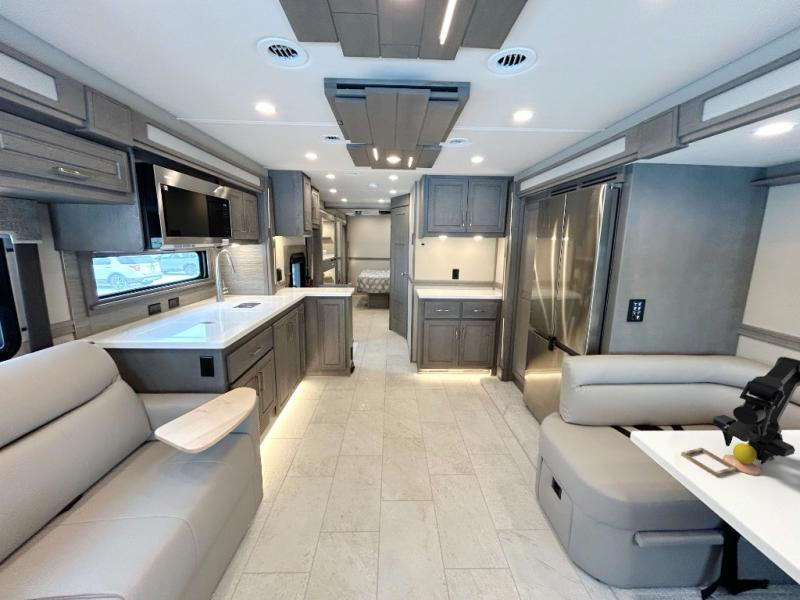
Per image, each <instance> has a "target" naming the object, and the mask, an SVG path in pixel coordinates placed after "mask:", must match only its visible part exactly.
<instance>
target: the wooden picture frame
mask: <svg viewBox="0 0 800 600" xmlns="http://www.w3.org/2000/svg"><path fill="white" fill-rule="evenodd" d="M700 453H703V454H704V455H707V456H709V457H710V458H712V459H713V460H715V461H717V462H718V463H720V464H722V465H724V466H725V467H727V468H724V469H721V470H717V471H716V470H714V469H712V468H711V467H708V466H707V465H705V464H704V463H702V462H700V461H699V460H697V459H695V458H694V457H692V456H691V455H696V454H700ZM680 456H681V457H683V458H685V459H687V460H688V461H690V462H691V463H692V464H694V465H696V466H697V467H699V468H700V469H703V470H704V471H706V472H707V473H709V474H710V473H711V474H710V475H712V476H714V477H715V478H717V477H720V476H721V477H722V476H723V475H724V476H725V475H727V474H731V473H735V472H738V471H737V467H735V466H733V465H732V464H730V463H728V462H726V461H725V460H723V458H721V457H720V456H717V455H715V454H714V453H712V452H711V451H709V450H707V449H705V448H704V447H697V448H694V449H690V450H685V451H682V452H681V454H680Z"/></svg>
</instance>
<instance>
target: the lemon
mask: <svg viewBox="0 0 800 600" xmlns="http://www.w3.org/2000/svg"><path fill="white" fill-rule="evenodd" d="M732 455H734V457H735V458H736V459H737V460H738V461H739V462H740V463H742V464H744V463H745V464H751V463H754V462H756V460H757V459H756V457H757V454H756V451H755V449H754V448H753V447H752V446H750V445H749V444H748V443H746V442H742V443H741V442H740V443H737V444H735V445H734V447H733V449H732Z"/></svg>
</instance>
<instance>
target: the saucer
mask: <svg viewBox="0 0 800 600" xmlns="http://www.w3.org/2000/svg"><path fill="white" fill-rule="evenodd" d="M722 459H723V460H725V461H726V462H728V463H730V464H732V465H733V466H735V467H737V471H736V472H739V473H743V474H745V475H749V476H759V475H761V469H760V468H759V466H758V465H756V464H755V463H754V462H753V463H751V464H745V463H744V464H742V463H740V462H739V461H738V460H737V459H736V458H735V457H734V455H733V454H724V455H723V456H722Z"/></svg>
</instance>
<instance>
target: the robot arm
mask: <svg viewBox="0 0 800 600" xmlns="http://www.w3.org/2000/svg"><path fill="white" fill-rule="evenodd" d="M798 387H800V359H798V358H796V359H795V358H792V357H788V356H780V357H777V360H776V362H775V363H774V366H773V367H772V368H771V369H770V370H769V371H768V372H766V374H765V375H761V376H755V377H754V378H753V379H751V380H749V381H748V382H746V385H745V387H744V388H743V390H742V392H741V393H740V395H739V396H738V397H739V399H742V400H744V403H743V404H741V405H739V406H737V407H735V408H734V409H733V410H732V414H733V417H734V418H733V417H730V416H728V415H726V414H722V415H717V416H713V417H712V421H711V423H712V424H714V425H715V427H716V428H718V429H719V430H721V432H722V435H723V438H724V442H725V446H726V447H730V446H731V444H732V441H733V438H736V439H738V440H739V441H741V442H743V443H747V444H749V445H750V446H752V447H753V448H754V449H755V451H756V454H757V457H756V460H758V461H760V465H765V464H766V463H767V462H769V461H772V460H775V457H779V456H780V457H782V458H784V457H788V456H791V455H795V452H796V449H795V446H794V445H792V444H790V443H787V442H785V441H784V439H783V434H782V432H783V430H782V427H781V425H780V420H781V418H782V416H783V414H784V412H785V411H786V408H788V407H787V406H788V405H789V403H790V400H792V397H793V395H794V393H795V391H796V390H797V388H798Z"/></svg>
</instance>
